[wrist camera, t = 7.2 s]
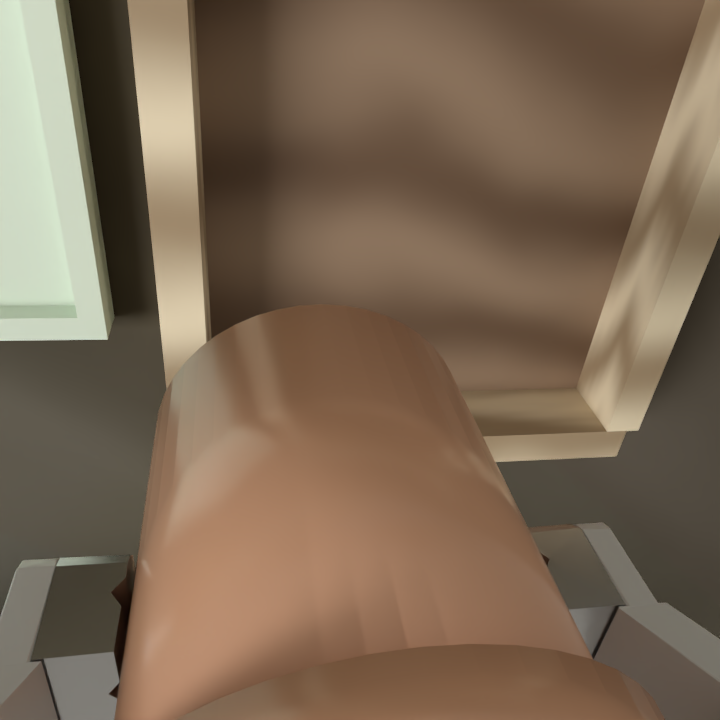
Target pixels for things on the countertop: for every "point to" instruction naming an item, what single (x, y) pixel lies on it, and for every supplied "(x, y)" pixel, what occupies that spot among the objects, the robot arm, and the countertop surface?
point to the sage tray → (47, 184)
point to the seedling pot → (342, 545)
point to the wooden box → (443, 187)
